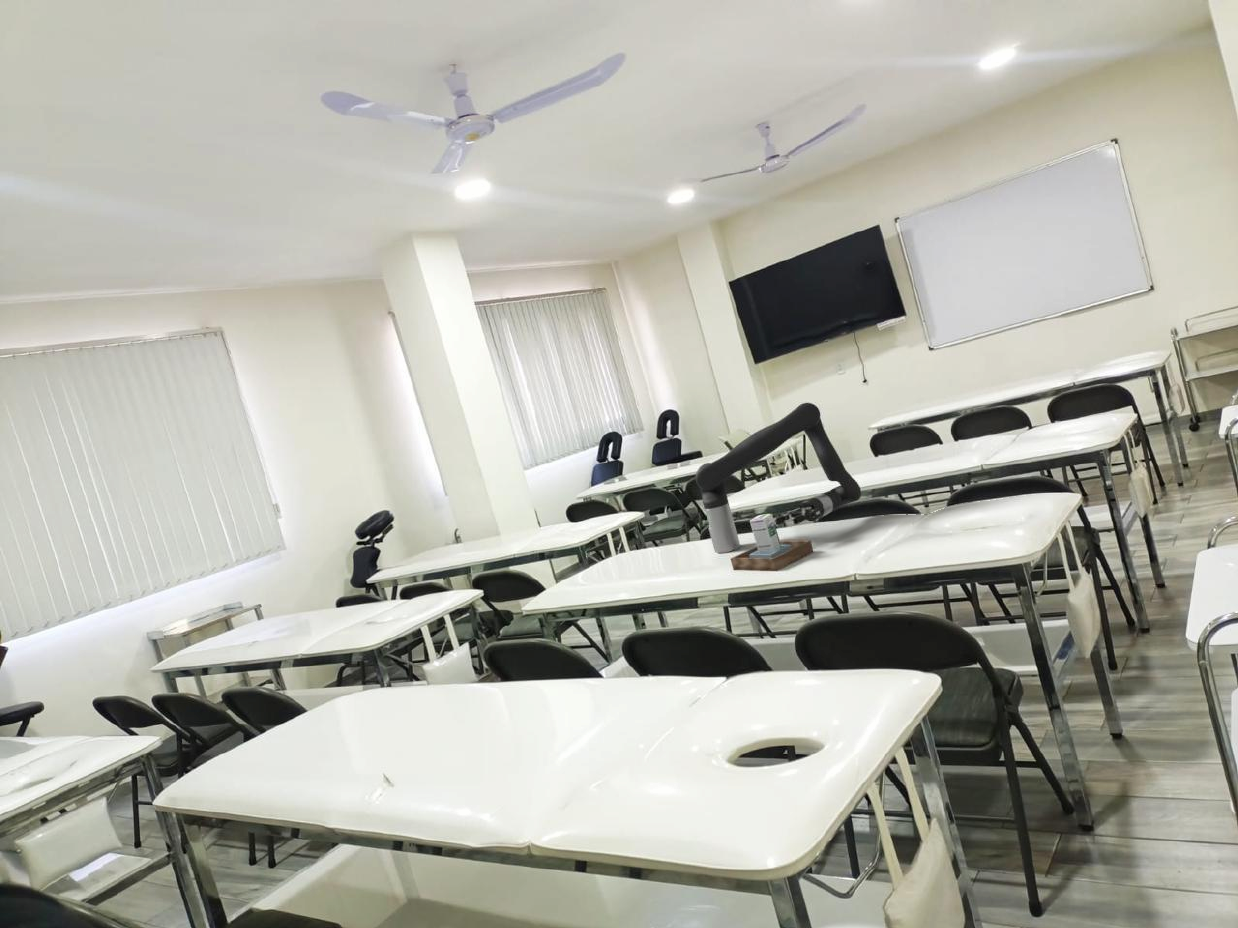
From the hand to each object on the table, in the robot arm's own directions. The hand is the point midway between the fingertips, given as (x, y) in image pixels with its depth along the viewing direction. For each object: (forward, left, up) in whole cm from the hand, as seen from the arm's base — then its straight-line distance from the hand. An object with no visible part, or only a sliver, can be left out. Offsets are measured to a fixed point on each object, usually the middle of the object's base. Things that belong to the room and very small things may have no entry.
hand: (785, 521), depth 275 cm
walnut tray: (0, -10, -10) cm, 14 cm away
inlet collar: (0, -10, -10) cm, 14 cm away
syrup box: (0, -10, -10) cm, 14 cm away
